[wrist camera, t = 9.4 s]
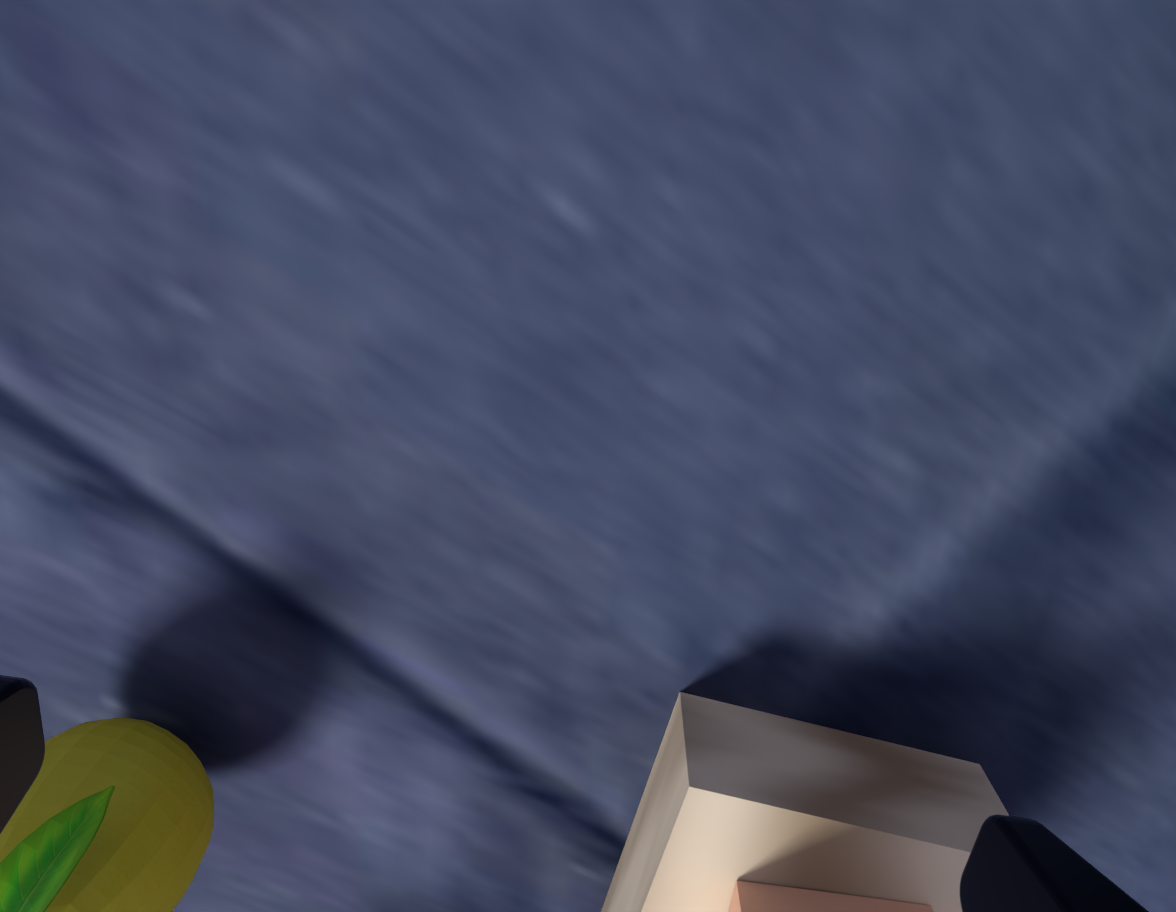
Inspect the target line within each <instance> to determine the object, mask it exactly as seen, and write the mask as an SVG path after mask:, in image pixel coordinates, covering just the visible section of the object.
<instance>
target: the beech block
mask: <svg viewBox="0 0 1176 912" xmlns="http://www.w3.org/2000/svg"><path fill="white" fill-rule="evenodd" d="M997 814H999V815H1006V816H1009V814H1008V812H1007V811H1006V809H1005V807H1004V805H1003V804H1002V802H1001V800H1000V799H999V797H998V795H997V793H996V792H995V790H994V788H993V786H992V785H991V783H990V781H989V779H988V778H987V776H986V774H985V773H984V771H983V769H982V767H981V766H980V764H977V763H973V762H969V761H965V760H960V759H956V758H952V757H948V756H944V755H940V754H936V753H931V752H927V751H923V750H919V749H915V748H911V747H907V746H902V745H898V744H894V743H890V742H886V741H882V740H878V739H873V738H869V737H865V736H861V735H857V734H853V733H849V732H844V731H840V730H836V729H832V728H828V727H824V726H820V725H815V724H811V723H807V722H803V721H799V720H795V719H791V718H786V717H782V716H778V715H774V714H770V713H766V712H762V711H757V710H753V709H749V708H745V707H741V706H737V705H733V704H728V703H724V702H720V701H716V700H712V699H708V698H704V697H699V696H695V695H691V694H687V693H683V692H680V693H679V695H678V698H677V701H676V704H675V707H674V709H673V712H672V715H671V718H670V721H669V723H668V726H667V729H666V732H665V734H664V737H663V740H662V743H661V746H660V748H659V751H658V754H657V757H656V760H655V762H654V765H653V768H652V771H651V773H650V776H649V779H648V782H647V785H646V787H645V790H644V793H643V796H642V799H641V801H640V804H639V807H638V810H637V813H636V815H635V818H634V821H633V824H632V826H631V829H630V832H629V835H628V838H627V840H626V843H625V846H624V849H623V852H622V854H621V857H620V860H619V863H618V865H617V868H616V871H615V874H614V877H613V879H612V882H611V885H610V888H609V891H608V893H607V896H606V899H605V902H604V905H603V907H602V910H601V912H728V910H729V906H730V902H731V898H732V895H733V891H734V887H735V883H736V880H737V881H745V882H753V883H760V884H768V885H776V886H784V887H791V888H799V889H807V890H814V891H822V892H830V893H838V894H845V895H853V896H861V897H868V898H876V899H884V900H891V901H899V902H907V903H915V904H922V905H930V906H932V909H933V911H934V912H962V908H961V903H960V894H959V892H960V880H961V876H962V873H963V870H964V868H965V865H966V863H967V860H968V858H969V856H970V853H971V851H972V848H973V846H974V843H975V841H976V838H977V836H978V833H979V831H980V828H981V826H982V824H983V822H984V821H985V820H986V819H987V818H988V817H989V816H991V815H997Z"/></svg>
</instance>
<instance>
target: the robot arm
mask: <svg viewBox="0 0 1176 912" xmlns="http://www.w3.org/2000/svg"><path fill="white" fill-rule="evenodd" d="M44 755H45V742H44V735H43V728H42V721H41V713H40V706H39V699H38V693H37V689H36V687H35V686H34V684H33V683H32V682H31V681H29V680H27V679H24V678H18V677H11V676H3V675H0V834H1V832H2V831H3V829H4V828H5V826H6V825H7V823H8V821H9V820H10V818H11V817H12V815H13V814H14V812H15V810H16V809H17V807H18V806H19V804H20V803H21V801H22V799H23V798H24V796H25V795H26V793H27V792H28V790H29V789H30V787H31V785H32V784H33V782H34V781H35V779H36V777H37V775H38V774H39V771H40V769H41V767H42V764H43V760H44ZM959 894H960V903H961V908H962V912H1148V911H1147V910H1146V909H1145V908H1144V907H1142V906H1141V905H1140V904H1139V903H1137V902H1136V901H1135V900H1134V899H1133V898H1131V897H1130V896H1129V895H1128V894H1126V893H1125V892H1124V891H1123V890H1121V889H1120V888H1119V887H1118V886H1117V885H1115V884H1114V883H1113V882H1112V881H1110V880H1109V879H1108V878H1107V877H1106V876H1104V875H1103V874H1102V873H1101V872H1099V871H1098V870H1097V869H1096V868H1095V867H1093V866H1092V865H1091V864H1090V863H1088V862H1087V861H1086V860H1085V859H1084V858H1082V857H1081V856H1080V855H1079V854H1077V853H1076V852H1075V851H1074V850H1072V849H1071V848H1070V847H1069V846H1068V845H1066V844H1065V843H1064V842H1063V841H1061V840H1060V839H1059V838H1058V837H1057V836H1055V835H1054V834H1053V833H1052V832H1050V831H1049V830H1048V829H1047V828H1046V827H1044V826H1043V825H1042V824H1040V823H1039V822H1037V821H1035V820H1032V819H1028V818H1020V817H1013V816H1006V815H999V814H997V815H991V816H989V817H988V818H987V819H986V820H985V821H984V822H983V824H982V826H981V828H980V831H979V833H978V836H977V838H976V841H975V843H974V846H973V848H972V851H971V853H970V856H969V858H968V860H967V863H966V865H965V868H964V870H963V873H962V876H961V880H960V892H959Z"/></svg>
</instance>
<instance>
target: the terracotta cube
mask: <svg viewBox="0 0 1176 912" xmlns="http://www.w3.org/2000/svg"><path fill="white" fill-rule="evenodd" d="M728 912H934V911H933V909H932V906H930V905H922V904H915V903H907V902H899V901H891V900H884V899H876V898H868V897H861V896H853V895H845V894H838V893H830V892H822V891H814V890H807V889H799V888H791V887H784V886H776V885H768V884H760V883H753V882H745V881H737V880H736V883H735V887H734V891H733V895H732V898H731V902H730V906H729V910H728Z"/></svg>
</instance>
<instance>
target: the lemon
mask: <svg viewBox="0 0 1176 912" xmlns="http://www.w3.org/2000/svg"><path fill="white" fill-rule="evenodd" d="M213 826H214V798H213V789H212V786H211V783H210V780H209V778H208V776H207V773H206V771H205V769H204V767H203V765H202V763H201V761H200V760H199V759H198V757H197V756H196V755H195V754H194V752H193V751H192V750H191V749H190V747H189V746H188V745H187V744H186V743H184V742H183V741H182V740H180V739H179V738H178V737H176V736H175V735H173V734H172V733H171V732H169V731H168V730H166V729H163V728H161V727H159V726H157V725H155V724H153V723H151V722H149V721H144V720H138V719H131V718H114V719H106V720H98V721H91V722H86V723H83V724H81V725H78V726H75V727H73V728H70V729H68V730H66V731H64V732H62V733H60V734H58V735H56V736H54V737H52V738H50V739H49V740H47V741H45V755H44V760H43V764H42V767H41V769H40V771H39V774H38V775H37V777H36V779H35V781H34V782H33V784H32V785H31V787H30V789H29V790H28V792H27V793H26V795H25V796H24V798H23V799H22V801H21V803H20V804H19V806H18V807H17V809H16V810H15V812H14V814H13V815H12V817H11V818H10V820H9V821H8V823H7V825H6V826H5V828H4V829H3V831H2V832H1V834H0V912H172V911H173V909H174V908H175V907H176V905H177V904H178V903H179V901H180V900H181V899H182V897H183V895H184V894H185V892H186V890H187V889H188V887H189V886H190V884H191V882H192V881H193V878H194V876H195V874H196V871H197V869H198V867H199V865H200V862H201V860H202V858H203V855H204V853H205V851H206V849H207V846H208V844H209V842H210V838H211V834H212V830H213Z"/></svg>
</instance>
